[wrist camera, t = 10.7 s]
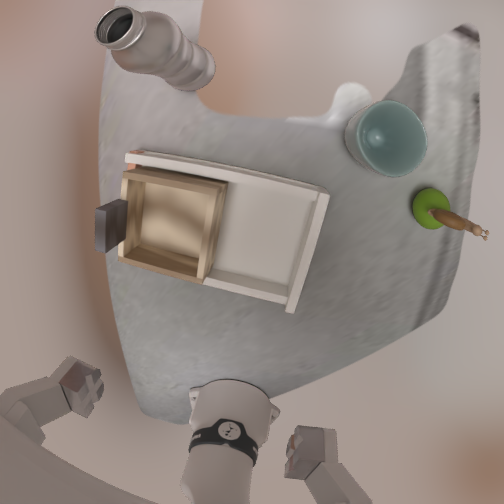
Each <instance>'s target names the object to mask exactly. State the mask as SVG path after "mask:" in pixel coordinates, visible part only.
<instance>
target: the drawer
mask: <svg viewBox="0 0 504 504" xmlns="http://www.w3.org/2000/svg"><path fill="white" fill-rule="evenodd" d="M227 187H228V181H223V180H218V179H213V178H209V177H204V176H198V175H193V174H188V173H183V172H177V171H172V170H166V169H160V168H154V167H148V166H143V167H139V168H135V169H131V170H127V171H123V178H122V189H121V199H117V200H115V201H112V202H110V203H108V204H105V205H103V206H101V207H99V208H96V209H95V250H96V251H99V252H102V253H107V252H108V251H109V250H111V249H112V248H114V247H115V246H116V245H118V261H120V262H123V263H127V264H130V265H133V266H137V267H140V268H143V269H147V270H150V271H154V272H157V273H161V274H164V275H168V276H172V277H175V278H179V279H182V280H186V281H190V282H193V283H197V284H201V285H202V284H203V282H204V280H205V279H206V277H207V275H208V273H209V272H210V270H211V268H212V267H213V265H214V259H215V253H216V247H217V242H218V236H219V230H220V225H221V219H222V214H223V209H224V203H225V198H226V193H227Z"/></svg>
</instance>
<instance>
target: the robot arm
mask: <svg viewBox="0 0 504 504" xmlns="http://www.w3.org/2000/svg"><path fill="white" fill-rule="evenodd" d="M100 376H101V372H100V369H97V368H95V367H93V366H91V365H89V364H87V363H85V362H83V361H81V360H79V359H77V358H74V357H73V356H69V357H67V358H66V359H65V360H64V361H63V362H62V363H61V365H60V366H59V367H58V368H57V369H56V370H55V371H54V373H53V374H52V375H51V376H50V377H49V378H48V377H44V378H41V379H37V380H34V381H31V382H28V383H24V384H22V385H18V386H14V387H11V388H8V389H6V390H5V391H4V392H3V393H2V394H1V395H0V504H157V503H155V502H152V501H149V500H146V499H143V498H141V497H139V496H136V495H133V494H131V493H129V492H126V491H124V490H121V489H119V488H117V487H115V486H112V485H110V484H108V483H106V482H104V481H102V480H100V479H98V478H96V477H94V476H92V475H90V474H88V473H86V472H84V471H82V470H80V469H79V468H77V467H75V466H73V465H71V464H69V463H68V462H66V461H64V460H63V459H61V458H60V457H58V456H56V455H55V454H53V453H52V452H50V451H48V450H47V449H45V448H44V447H42V446H41V444H42V443H43V441H44V440H45V434H44V433H43V431H42V430H41V428H40V427H41V426H43V425H45V424H47V423H49V422H51V421H53V420H55V419H57V418H59V417H61V416H63V415H65V414H67V413H69V412H71V411H73V412H75V413H77V414H79V415H81V416H83V417H85V418H88V416H89V415H90V413H91V412H92V410H93V409H94V405H93V403H95V402H97V401H99V400H100V398H101V396H102V394H103V391H104V384H103V381H102V380H101V379H100ZM189 398H190V402H191V407H192V413H191V416H190V420H189V423H190V424H191V429H192V430H193V432H194V434H193V436H192V439H191V441H190V445H189V453H190V454H189V457H188V460H187V463H186V466H185V470H184V473H183V476H182V479H181V482H180V486H181V490H182V492H183V494H184V495H185V496H186V497H187V498H188V499H189V500H190V501H191V504H250V502H249V493H250V484H251V475H252V469H253V467H254V465H255V464H256V460H257V456H258V448H260V447H261V446H262V444H263V443H265V442H266V441H267V439H268V434H269V428H270V424H271V423H272V422H273V421H274V420H275V419H276V418H277V417H278V416H279V414H280V410H279V409H278V408H277V407H276V406H274V405H273V404H272V403H271V402H270V401H269V399H268V397H267V396H266V395H265V394H264V393H263V392H262V391H261V390H260V389H258V388H256V387H254V386H252V385H250V384H247V383H244V382H240V381H235V380H218V381H214V382H211V383H209V384H207V385H205V386H203V387H198V388H192V389H190V391H189ZM336 438H337V437H336V431H335V429H324V428H318V427H307V426H299V425H298V426H297V427H296V428H295V433H294V435H291V437H290V439H289V442H288V445H287V451H286V456H287V457H288V459H289V460H288V461H287V463H286V464H285V475H284V477H285V478H292V479H299V480H305V483H306V485H307V487H308V488H309V490H310V492H311V494H312V495H313V497H314V499H315V500H316V502H317V504H372V500H371V499H370V498H369V497H368V495H367V494H366V493H365V492H364V490H363V489H362V488H361V487H360V486H359V484H358V483H357V482H356V481H355V480H354V478H353V477H352V476H351V474H349V472H348V471H347V470H346V468H345V467H344V466H343V464H342V463H338V452H337V439H336Z"/></svg>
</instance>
